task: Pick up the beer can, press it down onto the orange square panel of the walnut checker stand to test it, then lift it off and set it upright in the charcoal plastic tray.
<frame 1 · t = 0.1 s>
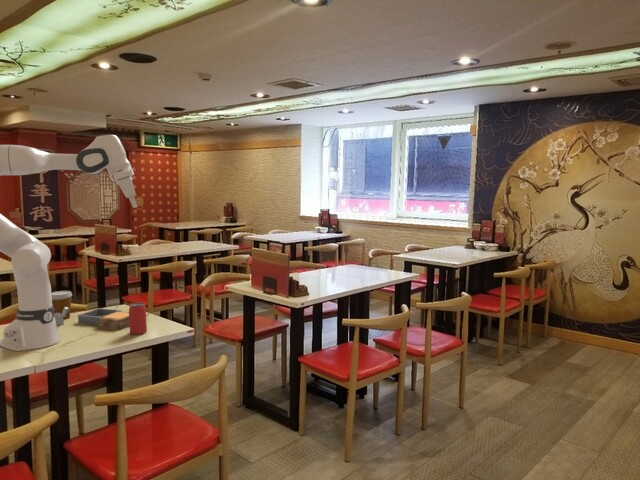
hand: (135, 207, 193), 52 cm above the table, tool tilted 20°, fingers open, 8 cm apart
checker stand: (119, 324, 210), on the table
beer can: (138, 333, 199), on the table
disposable coffee cup: (62, 318, 220), on the table
orange square panel: (118, 316, 209), point 4 cm above the table, slide at 0.5 cm
tray: (100, 320, 217), on the table
lighter: (61, 325, 210), on the table
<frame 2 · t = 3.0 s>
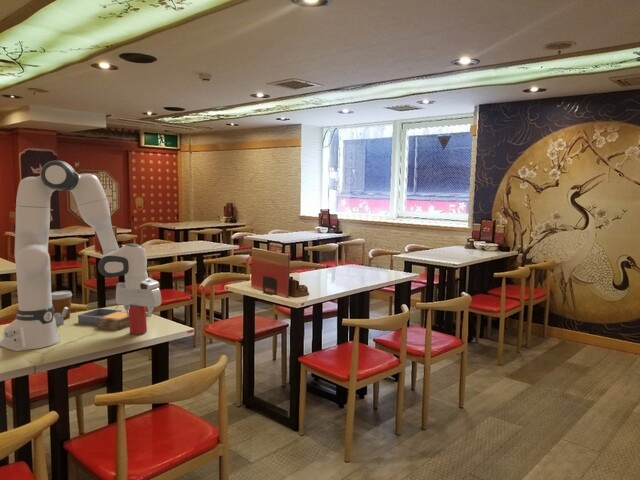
hand: (139, 316, 198), 7 cm above the table, tool pointing down, fingers open, 8 cm apart
nothing on the table moved.
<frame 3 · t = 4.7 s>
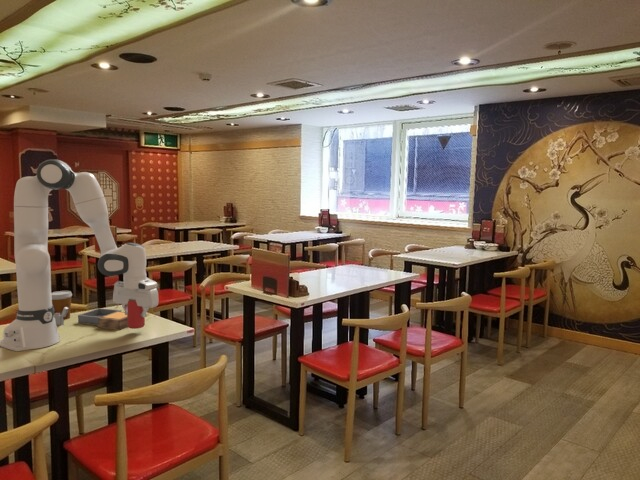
hand: (135, 315, 197), 7 cm above the table, tool pointing down, fingers closed on beer can, 6 cm apart
beer can: (136, 327, 198), point 2 cm above the table, touching gripper
everything else where it was.
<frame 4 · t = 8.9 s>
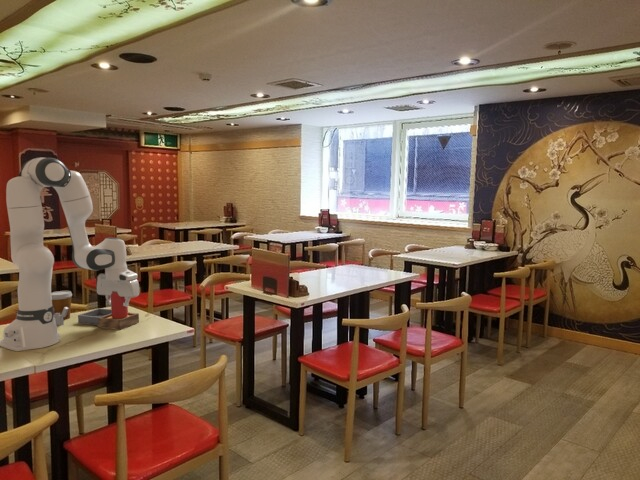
hand: (118, 305, 209), 8 cm above the table, tool pointing down, fingers closed on beer can, 6 cm apart
beer can: (120, 317, 210), point 3 cm above the table, touching orange square panel, gripper
orange square panel: (118, 318, 209), point 3 cm above the table, slide at 1.5 cm, touching beer can
everything else where it was.
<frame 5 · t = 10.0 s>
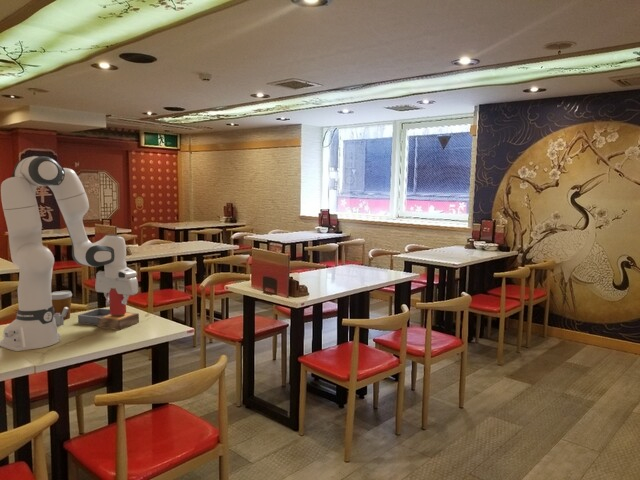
hand: (116, 303, 208), 10 cm above the table, tool pointing down, fingers closed on beer can, 6 cm apart
beer can: (118, 314, 209), point 4 cm above the table, touching gripper
orange square panel: (118, 316, 209), point 4 cm above the table, slide at 0.6 cm
everything else where it was.
when the fingers open (7 cm above the table, at t = 15.1 s): beer can stays where it is, resting on tray.
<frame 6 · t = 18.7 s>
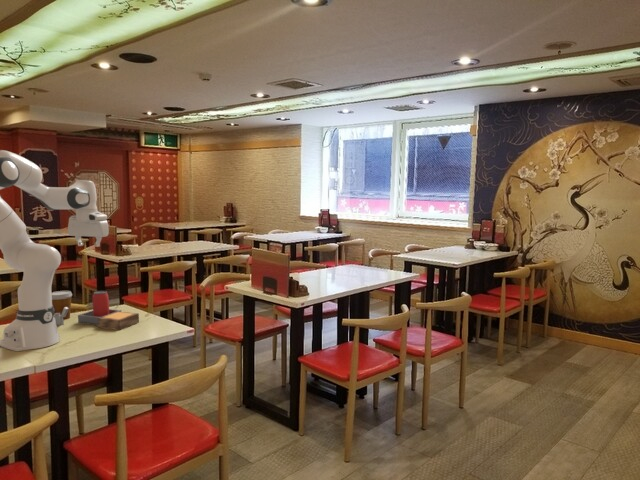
hand: (88, 246, 218), 33 cm above the table, tool pointing down, fingers open, 8 cm apart
beer can: (101, 318, 217), point 1 cm above the table, touching tray
everything else where it was.
at the end: beer can 0.9 cm off-centre on the tray, point 0.6 cm above the tray's base; beer can tilted 0°; the gripper is holding nothing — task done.
